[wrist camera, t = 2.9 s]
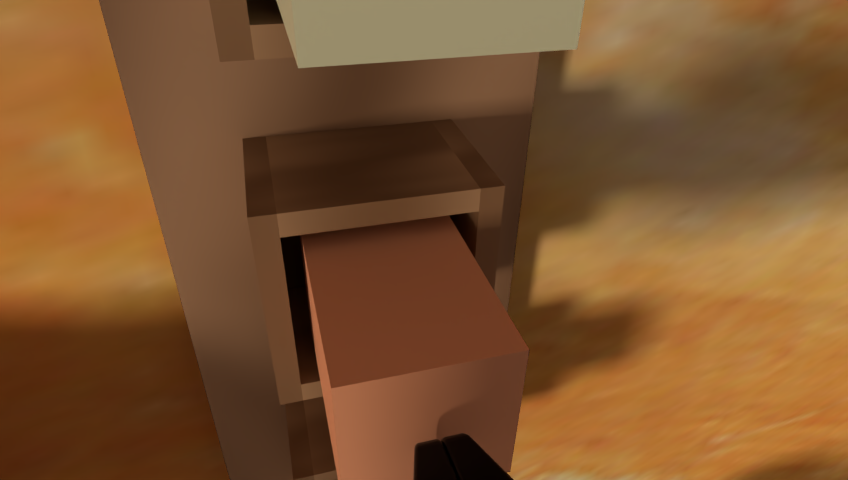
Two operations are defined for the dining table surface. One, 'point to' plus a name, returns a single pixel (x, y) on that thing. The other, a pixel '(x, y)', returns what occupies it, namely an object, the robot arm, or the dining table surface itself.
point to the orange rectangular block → (409, 346)
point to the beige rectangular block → (425, 29)
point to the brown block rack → (301, 191)
